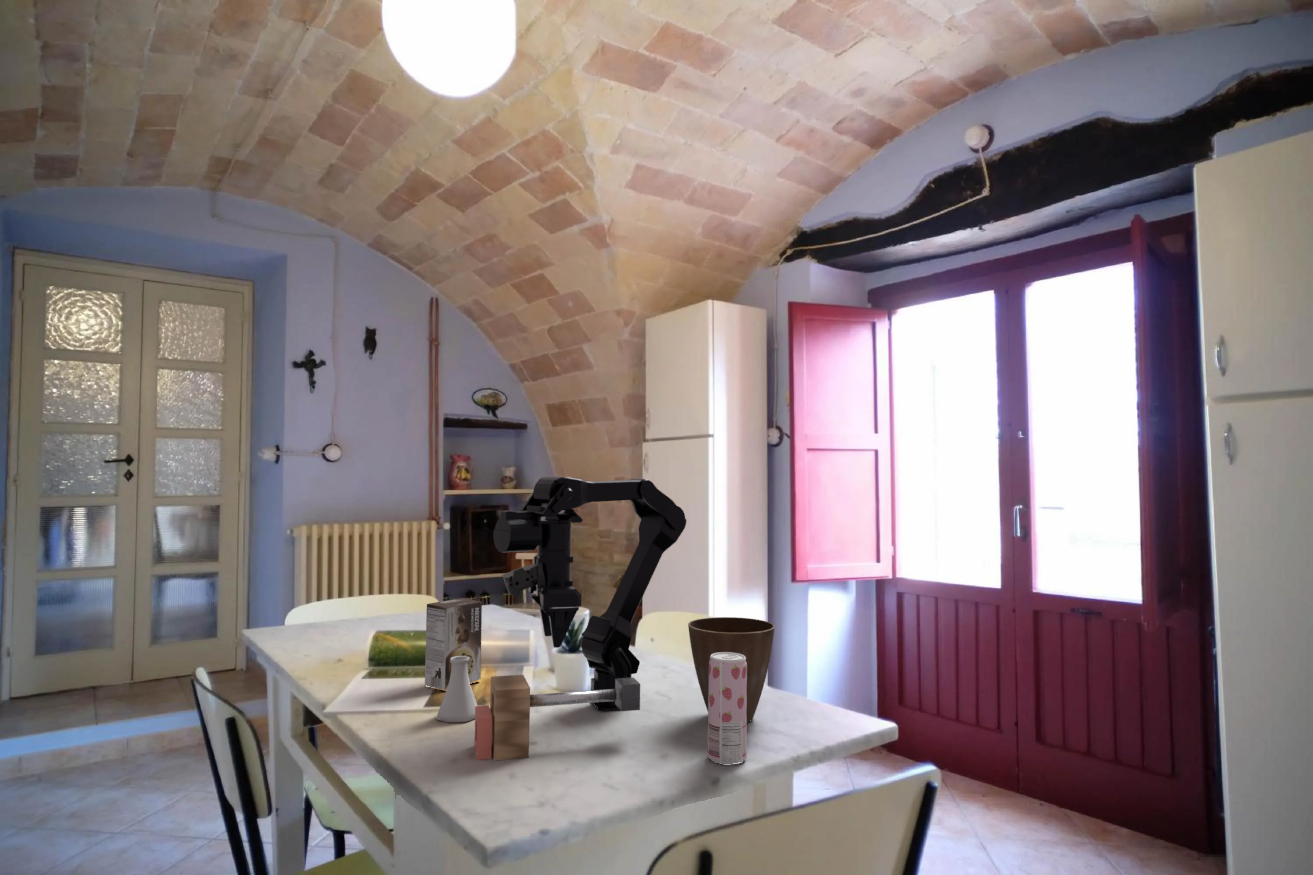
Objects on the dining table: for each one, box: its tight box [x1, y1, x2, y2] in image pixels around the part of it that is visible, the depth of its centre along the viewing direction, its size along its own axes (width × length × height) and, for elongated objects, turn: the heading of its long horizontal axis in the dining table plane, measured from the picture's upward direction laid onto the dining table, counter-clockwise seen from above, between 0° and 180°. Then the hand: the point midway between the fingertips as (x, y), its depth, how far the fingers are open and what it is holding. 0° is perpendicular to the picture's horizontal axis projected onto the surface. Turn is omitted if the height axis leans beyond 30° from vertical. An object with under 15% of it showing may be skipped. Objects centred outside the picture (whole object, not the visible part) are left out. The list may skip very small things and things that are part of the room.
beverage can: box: [707, 652, 748, 764], centre depth 115 cm, size 6×6×15 cm
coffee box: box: [424, 597, 483, 690], centre depth 153 cm, size 9×6×16 cm
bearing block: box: [489, 674, 531, 761], centre depth 117 cm, size 5×8×10 cm, turn 17°
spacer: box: [473, 704, 492, 761], centre depth 116 cm, size 2×6×6 cm, turn 17°
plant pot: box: [687, 616, 776, 723], centre depth 135 cm, size 15×15×16 cm
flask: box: [435, 656, 479, 723], centre depth 133 cm, size 7×7×10 cm
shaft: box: [530, 677, 641, 712], centre depth 120 cm, size 20×4×4 cm, turn 107°
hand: (552, 641), depth 133 cm, fingers open, 9 cm apart
